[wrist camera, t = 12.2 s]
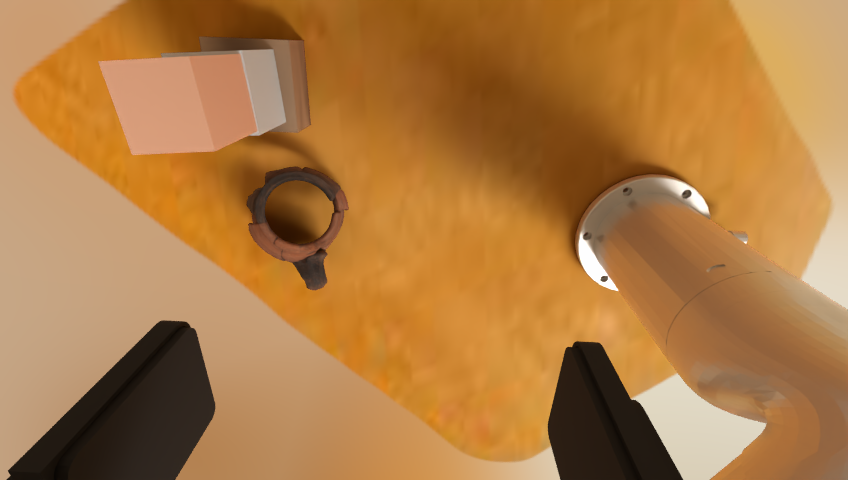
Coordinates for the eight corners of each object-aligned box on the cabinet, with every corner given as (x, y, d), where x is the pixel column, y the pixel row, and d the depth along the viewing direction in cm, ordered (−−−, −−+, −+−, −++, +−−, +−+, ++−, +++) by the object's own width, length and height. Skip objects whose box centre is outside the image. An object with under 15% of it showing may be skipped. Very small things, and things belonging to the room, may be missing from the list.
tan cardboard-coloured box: (304, 40, 35) (288, 40, 31) (311, 124, 38) (297, 132, 34) (223, 37, 35) (198, 36, 31) (237, 120, 38) (215, 128, 34)
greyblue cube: (273, 49, 32) (241, 50, 27) (286, 122, 34) (259, 135, 29) (204, 51, 32) (160, 53, 27) (222, 123, 34) (184, 137, 29)
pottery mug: (236, 191, 41) (222, 183, 34) (324, 159, 44) (330, 145, 36) (285, 297, 43) (282, 313, 35) (366, 261, 46) (381, 269, 38)
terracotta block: (240, 53, 27) (188, 56, 21) (257, 131, 29) (214, 151, 23) (167, 58, 27) (98, 61, 22) (189, 134, 29) (132, 154, 24)
